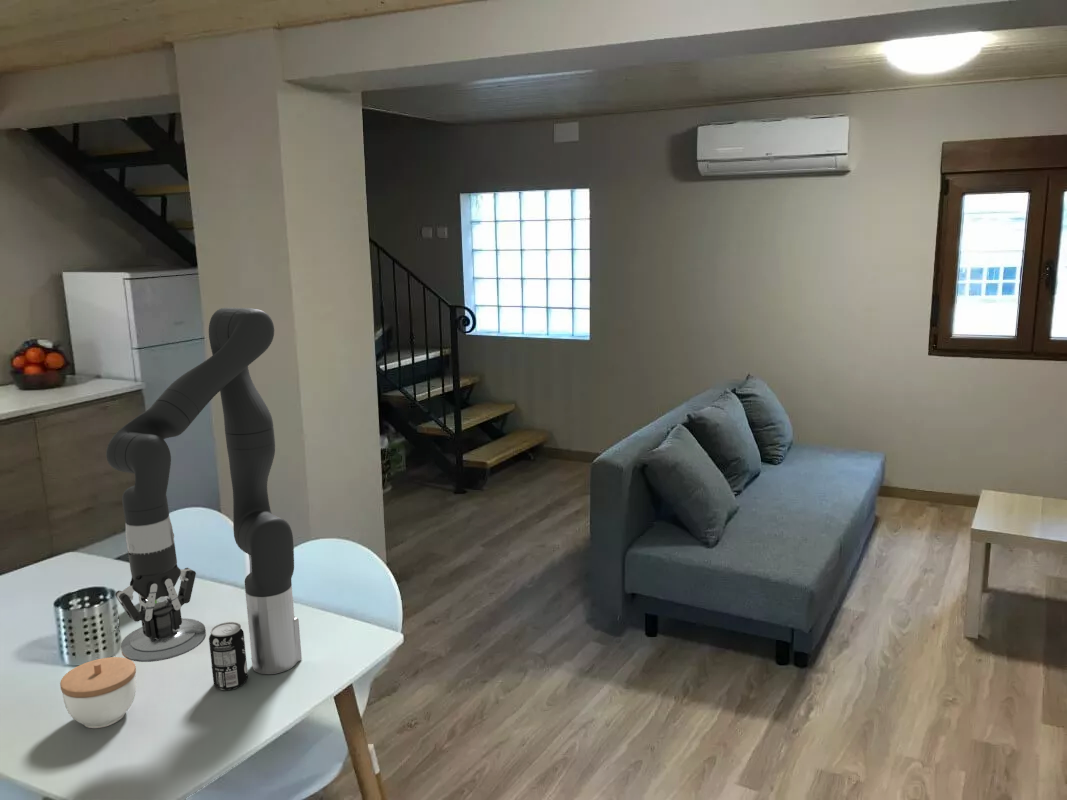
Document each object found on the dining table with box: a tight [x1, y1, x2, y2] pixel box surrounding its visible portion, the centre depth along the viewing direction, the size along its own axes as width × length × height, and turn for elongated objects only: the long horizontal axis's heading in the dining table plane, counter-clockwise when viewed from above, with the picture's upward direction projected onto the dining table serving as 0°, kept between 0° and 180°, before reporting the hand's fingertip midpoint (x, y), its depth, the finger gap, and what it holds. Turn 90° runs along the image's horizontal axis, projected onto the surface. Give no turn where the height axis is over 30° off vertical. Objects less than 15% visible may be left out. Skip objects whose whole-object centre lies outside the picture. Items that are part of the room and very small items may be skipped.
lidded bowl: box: [59, 656, 137, 729], centre depth 156 cm, size 13×13×11 cm
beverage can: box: [208, 621, 249, 691], centre depth 167 cm, size 7×7×12 cm
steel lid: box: [120, 601, 207, 663], centre depth 149 cm, size 14×14×7 cm
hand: (163, 632), depth 149 cm, fingers closed on steel lid, 3 cm apart
